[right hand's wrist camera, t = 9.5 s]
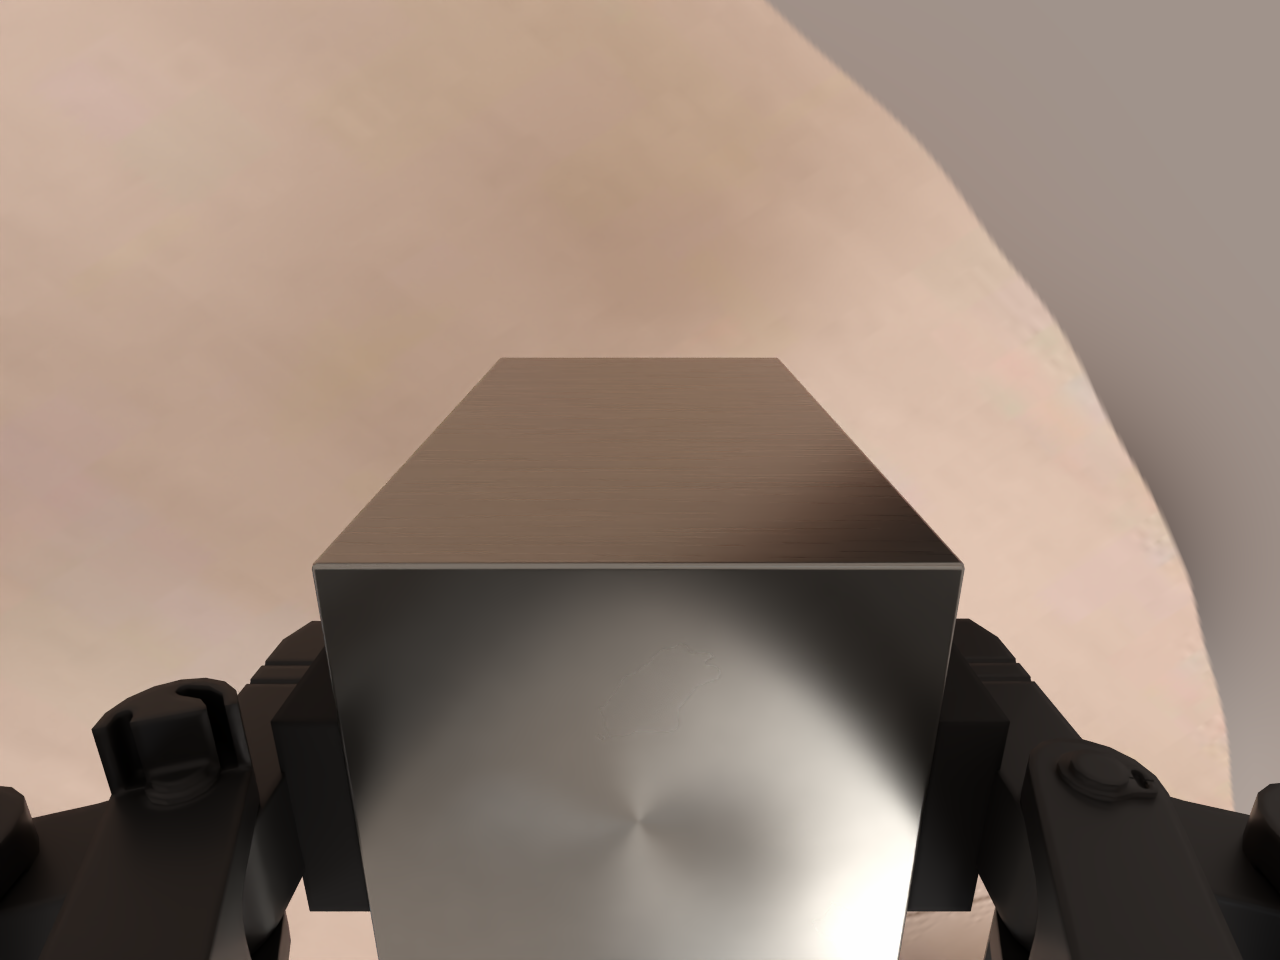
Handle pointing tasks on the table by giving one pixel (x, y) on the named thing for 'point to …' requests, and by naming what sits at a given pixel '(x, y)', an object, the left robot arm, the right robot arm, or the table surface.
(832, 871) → the block
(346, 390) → the table surface
